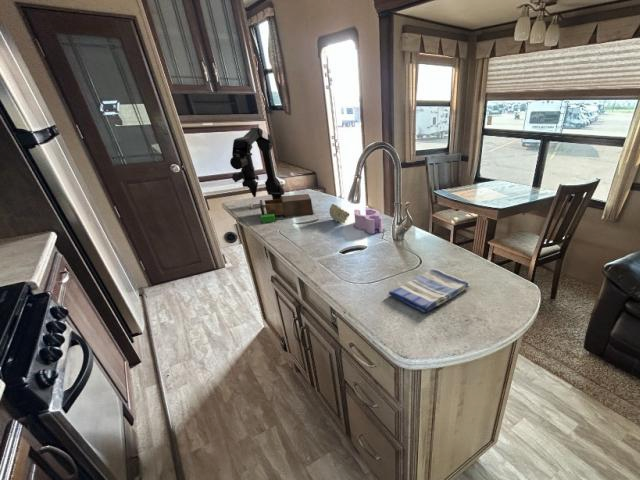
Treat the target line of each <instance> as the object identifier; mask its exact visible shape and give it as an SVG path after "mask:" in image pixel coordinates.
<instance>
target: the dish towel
mask: <svg viewBox="0 0 640 480" xmlns="http://www.w3.org/2000/svg"><path fill="white" fill-rule="evenodd" d="M468 288H470V285H469V281H467V280H463V279H461V278H458V277H457V276H454V275H452V274H449V273H445V272H444V271H442V270H439V269H435V268H431V269H430V270H428V271H427V272H426V271H425V272H424V273H423V274H421V275H419V276H417V277H415V278H413V279H412V280H410V281H407V282H405V283H403V284H402V285H401V286H399V287H397V288H394V289H393V290H391V291H390V290H389V291H388V295H390V296H391V297H393V298H395V299H397V300H399V301H401V302H402V303H405V304H406V305H408V306H410V307H412V308H414V309H416V310H418V311H419V312H421V313H423V314H426V313H428V312H429V311H431V310H433V309H435V308H436V307H438V306H440V305H442V304H444V303H445V302H447V301H449V300H451V299H453V298H455V297H457V296H458V295H459V294H461V293H462V292H464V291H466V289H468Z"/></svg>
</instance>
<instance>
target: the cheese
mask: <svg viewBox="0 0 640 480" xmlns="http://www.w3.org/2000/svg"><path fill="white" fill-rule="evenodd" d="M329 215H330V217H331V219H333V220H334V221H335V223H340V224H345V223H346V221H347V220H348V218H349V217H350V215H351V214H350V212H348V211H346V210H345V209H343V208H341V207H340V206H338V205H337V204H335V203H332V204H331V205H330V207H329Z"/></svg>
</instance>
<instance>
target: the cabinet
mask: <svg viewBox="0 0 640 480" xmlns="http://www.w3.org/2000/svg"><path fill="white" fill-rule="evenodd" d="M281 199H282V204H283V209H284V214H283V215H284V218H291V217H299V216H309V215H314V209H313V203H312V198H311V196H310V193H303V194H292V195H282V196H281Z"/></svg>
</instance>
